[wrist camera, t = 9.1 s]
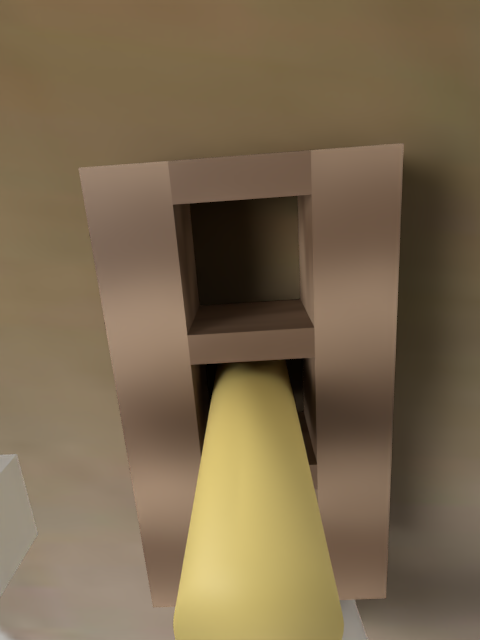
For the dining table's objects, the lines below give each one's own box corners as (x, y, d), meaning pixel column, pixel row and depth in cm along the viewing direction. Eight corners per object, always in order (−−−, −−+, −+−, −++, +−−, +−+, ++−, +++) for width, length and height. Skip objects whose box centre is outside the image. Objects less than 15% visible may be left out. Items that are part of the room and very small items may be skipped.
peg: (212, 341, 19) (160, 568, 8) (283, 333, 19) (339, 554, 7) (221, 404, 20) (187, 693, 9) (289, 398, 20) (347, 683, 8)
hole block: (116, 173, 17) (78, 167, 13) (367, 153, 17) (403, 143, 13) (169, 535, 22) (153, 607, 18) (361, 527, 22) (386, 598, 18)
